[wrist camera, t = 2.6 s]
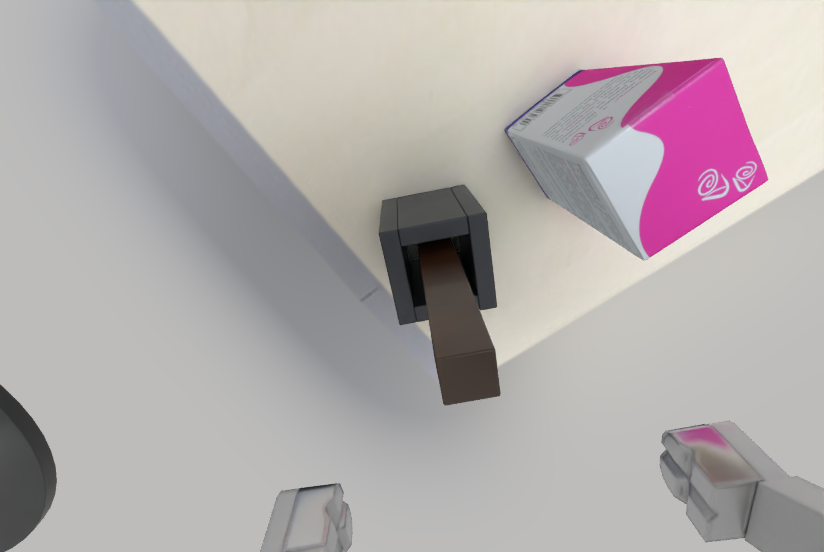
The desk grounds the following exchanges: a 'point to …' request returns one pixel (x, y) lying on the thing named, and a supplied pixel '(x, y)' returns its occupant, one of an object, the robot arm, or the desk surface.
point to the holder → (430, 222)
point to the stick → (456, 327)
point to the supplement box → (642, 149)
